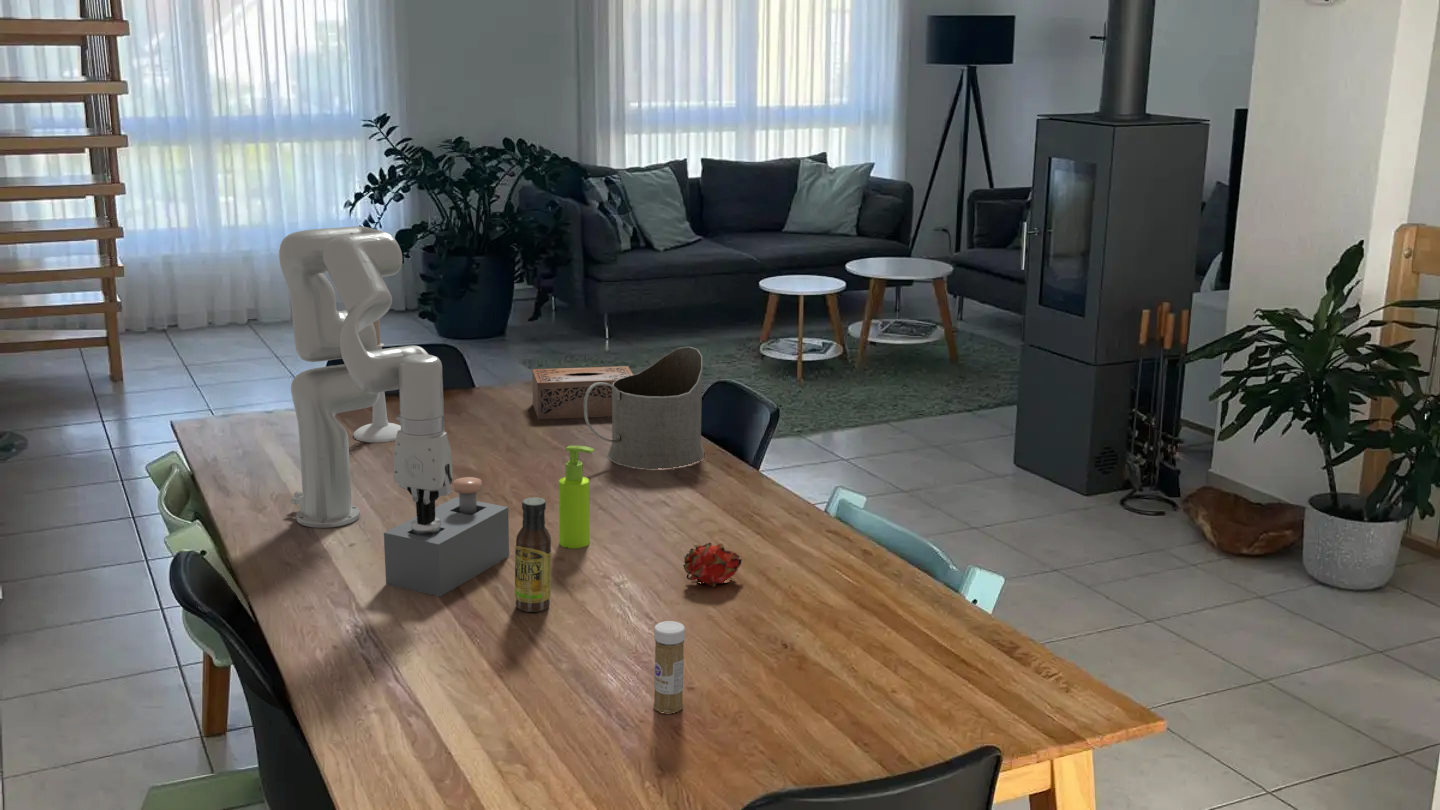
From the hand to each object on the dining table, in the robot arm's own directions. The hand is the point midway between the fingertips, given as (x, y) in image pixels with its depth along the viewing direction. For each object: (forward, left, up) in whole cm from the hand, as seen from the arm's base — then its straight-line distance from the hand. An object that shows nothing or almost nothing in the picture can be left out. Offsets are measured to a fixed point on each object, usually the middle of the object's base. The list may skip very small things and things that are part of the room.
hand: (426, 521), depth 249 cm
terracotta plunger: (0, +13, -4) cm, 14 cm away
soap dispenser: (+14, +30, -12) cm, 35 cm away
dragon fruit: (+46, +25, -12) cm, 53 cm away
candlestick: (-66, +70, -12) cm, 97 cm away
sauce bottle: (+23, 0, -12) cm, 26 cm away
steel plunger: (0, 0, -8) cm, 8 cm away
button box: (0, +7, -12) cm, 13 cm away
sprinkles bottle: (+61, -22, -12) cm, 66 cm away
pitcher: (-1, +85, -12) cm, 85 cm away
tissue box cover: (-34, +114, -12) cm, 120 cm away
